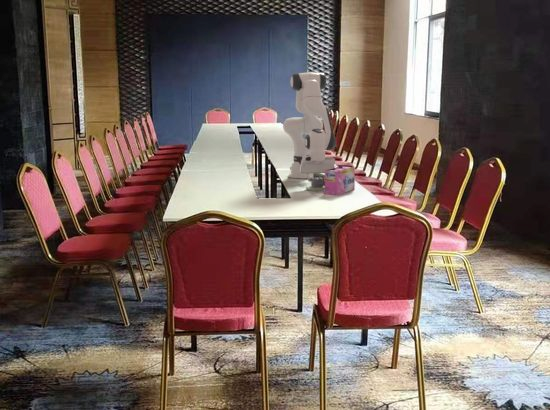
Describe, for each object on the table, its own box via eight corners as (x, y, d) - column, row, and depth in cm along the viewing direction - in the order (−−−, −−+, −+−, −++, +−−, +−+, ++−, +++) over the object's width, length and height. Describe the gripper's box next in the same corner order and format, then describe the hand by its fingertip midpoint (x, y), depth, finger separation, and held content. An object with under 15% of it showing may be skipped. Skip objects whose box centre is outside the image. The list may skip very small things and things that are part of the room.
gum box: (343, 188, 354) (344, 165, 351) (355, 189, 350) (356, 166, 347) (323, 194, 335) (324, 170, 332) (336, 195, 330) (336, 171, 327)
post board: (306, 188, 352) (306, 177, 351) (333, 188, 353) (333, 177, 352) (308, 190, 344) (308, 180, 343) (335, 190, 346) (336, 179, 344)
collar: (311, 185, 353) (311, 177, 352) (321, 185, 354) (321, 177, 353) (312, 187, 347) (312, 179, 346) (323, 187, 348) (323, 179, 347)
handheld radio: (327, 187, 355) (307, 181, 378) (332, 187, 357) (312, 181, 379) (328, 176, 354) (308, 171, 376) (333, 176, 356) (312, 170, 378)
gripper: (334, 156, 351) (333, 179, 354) (299, 156, 349) (299, 180, 352) (336, 157, 345) (335, 181, 348) (301, 158, 343) (300, 181, 346)
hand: (317, 180), depth 350 cm, fingers open, 8 cm apart
